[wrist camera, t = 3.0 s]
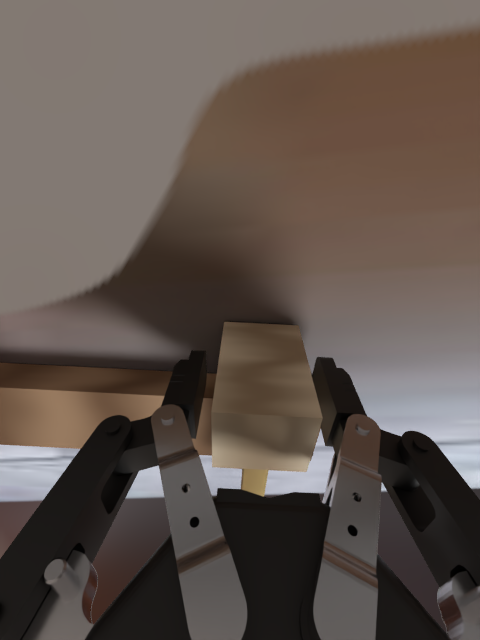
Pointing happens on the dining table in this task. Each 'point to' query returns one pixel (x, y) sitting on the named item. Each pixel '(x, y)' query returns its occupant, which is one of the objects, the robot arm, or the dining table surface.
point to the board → (83, 403)
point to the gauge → (263, 403)
